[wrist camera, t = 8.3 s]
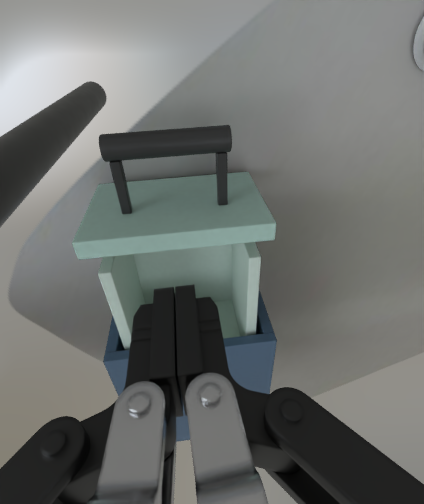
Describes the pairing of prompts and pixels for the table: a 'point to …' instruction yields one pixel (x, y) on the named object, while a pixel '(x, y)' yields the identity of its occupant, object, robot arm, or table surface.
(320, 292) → the table surface
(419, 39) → the chess piece
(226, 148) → the drawer
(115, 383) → the blue drawer cabinet
